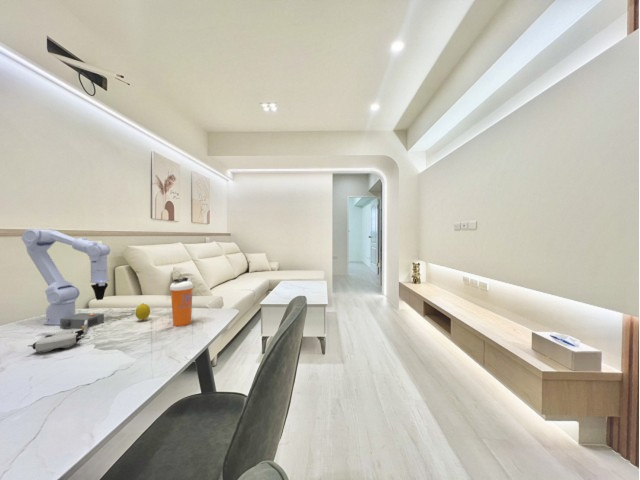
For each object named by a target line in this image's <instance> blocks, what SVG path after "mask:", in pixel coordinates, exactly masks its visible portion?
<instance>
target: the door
mask: <svg viewBox="0 0 640 480" xmlns="http://www.w3.org/2000/svg"><path fill="white" fill-rule="evenodd" d="M88 329H89V328H88V319H86V320H85V323H84V326H82V329H81V330H83V331H84V330H86V332H85V333H83V335H86V334H87V333H88Z"/></svg>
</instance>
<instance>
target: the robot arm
mask: <svg viewBox="0 0 640 480" xmlns="http://www.w3.org/2000/svg"><path fill="white" fill-rule="evenodd" d="M21 240H22V242H23V244H24V245H25V246H26V247H25V248H26V252H27V254H28V256H29V257H30V260H31V261H32V262H33V264H34V265H35V267H36V269H37V270H38V272H39V273H40V275H41V276H42V278H43V279H44V281H45V283H46V284H47V286H48V287H47V288H46V290H44V293H45V295H46V301H47V302H48V303H49V305H47V307H46V309H45V317H46V318H45V319H46V320H45V321H46V322H45V323H44V324H43V325H51V326H60V319H62V318H65V317H69V316H72V315H76V301H77V299H78V298H79V297H80V289H79V288H78V287H77V286H75V285H74V284H73V283H72V282H70V281H67V280H65V278H64V277H63V275H62V273H61V271H60V270H59V269H58V267H57V265H56V264H55V262H54V261H53V259H52V258H51V256H50V254H49V253H48V250H49V249H50V248H51V247H52V246H53V245H54V244H55V243H56V242H59V243H61V244H65V245H69V246H71V248H72V249H73V250H75V251H79V252H81V253H84V254H86V255H87V256H88V258H89V260H90V281H89V283H90V284H91V283H92V284H91V285H90V286H91V288H92V290H93V293H94V295H95V297H94V298H95V300H96V301H100V300H101V301H102V300H104V297H105V293H106V290H107V288H108V285H109V284H108V283H107V282H109V281H111V278H108V255H110V252H111V249H110V246H109V245H107V244H105V243H101V244H100V243H98V241H91V240H88V238H87V237H79V238H75V237H73V236H70V235H68V234H65V233H62V232H60V231H59V230H55V229H50V228H49V229H39V228H38V229H37V228H36V229H35V228H29V229H26V230H25V231H24V232H23V233H22V236H21Z"/></svg>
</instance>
